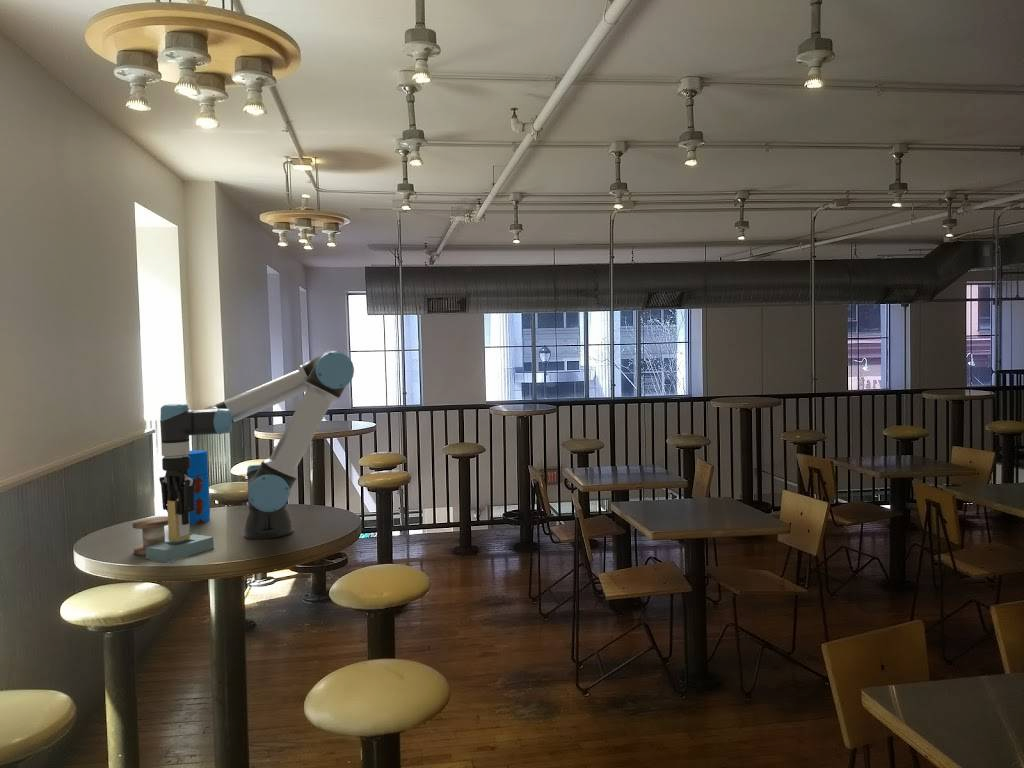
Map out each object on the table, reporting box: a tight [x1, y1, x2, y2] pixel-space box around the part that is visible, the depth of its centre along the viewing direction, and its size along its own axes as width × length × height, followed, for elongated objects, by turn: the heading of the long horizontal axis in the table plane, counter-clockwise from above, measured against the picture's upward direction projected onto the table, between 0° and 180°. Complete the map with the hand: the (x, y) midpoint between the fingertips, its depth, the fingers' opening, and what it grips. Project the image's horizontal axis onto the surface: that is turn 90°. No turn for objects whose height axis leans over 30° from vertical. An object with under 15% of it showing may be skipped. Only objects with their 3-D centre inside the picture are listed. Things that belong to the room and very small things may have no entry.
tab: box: [167, 498, 191, 542], centre depth 208 cm, size 4×4×12 cm
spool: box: [131, 515, 168, 557], centre depth 213 cm, size 11×11×9 cm
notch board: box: [145, 533, 215, 563], centre depth 209 cm, size 16×9×4 cm, turn 151°
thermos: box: [182, 449, 211, 526], centre depth 251 cm, size 11×11×25 cm
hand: (179, 534), depth 208 cm, fingers closed on tab, 3 cm apart
